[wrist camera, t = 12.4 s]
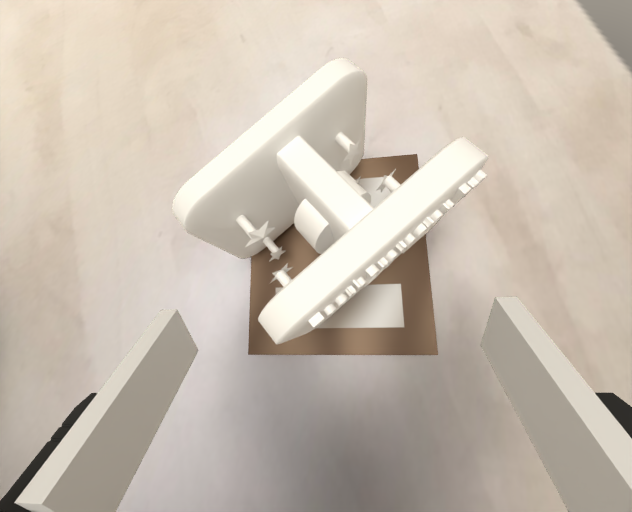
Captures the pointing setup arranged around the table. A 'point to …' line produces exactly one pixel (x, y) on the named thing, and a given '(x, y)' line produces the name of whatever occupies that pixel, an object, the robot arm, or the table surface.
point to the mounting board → (367, 304)
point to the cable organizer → (319, 197)
